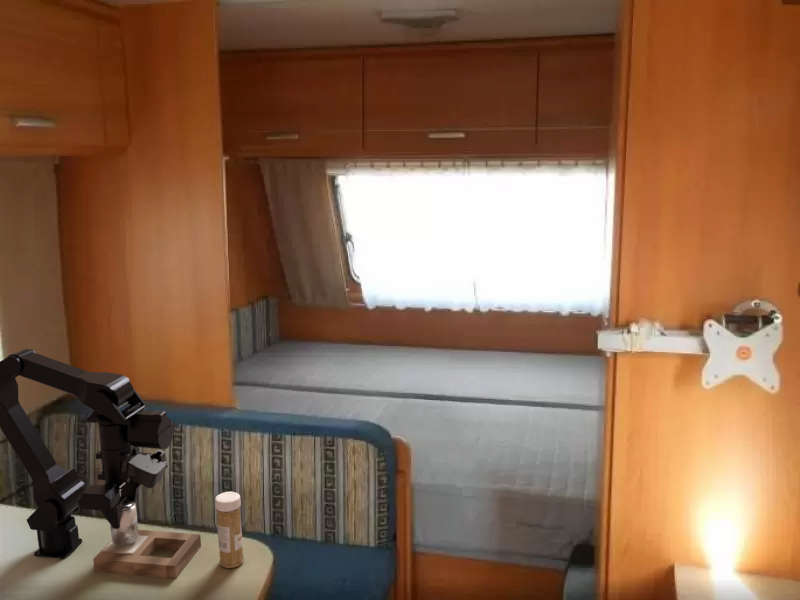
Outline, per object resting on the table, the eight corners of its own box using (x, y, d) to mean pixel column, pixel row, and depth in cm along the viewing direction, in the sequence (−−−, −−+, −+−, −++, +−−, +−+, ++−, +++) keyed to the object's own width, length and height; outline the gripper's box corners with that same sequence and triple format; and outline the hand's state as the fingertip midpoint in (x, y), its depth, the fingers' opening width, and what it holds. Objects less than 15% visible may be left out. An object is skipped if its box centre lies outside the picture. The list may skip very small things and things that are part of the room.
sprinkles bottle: (247, 564, 142) (244, 498, 139) (224, 571, 140) (220, 504, 137) (238, 553, 146) (234, 488, 143) (215, 560, 144) (211, 494, 141)
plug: (106, 544, 142) (103, 509, 141) (120, 531, 147) (116, 497, 146) (130, 546, 142) (127, 511, 140) (143, 532, 146) (140, 499, 145)
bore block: (94, 571, 140) (92, 557, 140) (124, 539, 151) (123, 527, 150) (176, 578, 138) (175, 564, 137) (201, 546, 149) (200, 533, 148)
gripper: (132, 468, 130) (139, 551, 133) (179, 427, 148) (185, 501, 151) (71, 464, 132) (80, 546, 135) (126, 424, 150) (132, 497, 153)
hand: (123, 521), depth 144 cm, fingers closed on plug, 5 cm apart
